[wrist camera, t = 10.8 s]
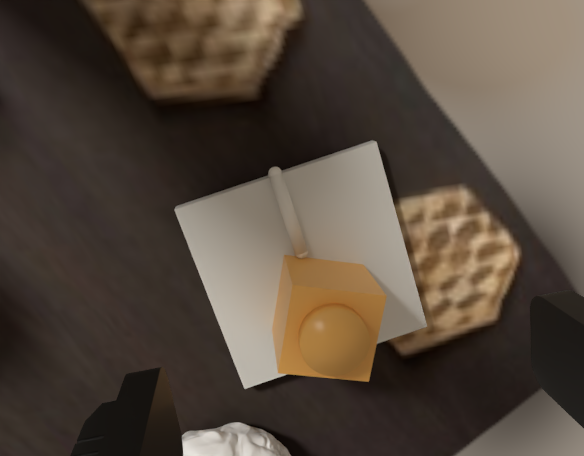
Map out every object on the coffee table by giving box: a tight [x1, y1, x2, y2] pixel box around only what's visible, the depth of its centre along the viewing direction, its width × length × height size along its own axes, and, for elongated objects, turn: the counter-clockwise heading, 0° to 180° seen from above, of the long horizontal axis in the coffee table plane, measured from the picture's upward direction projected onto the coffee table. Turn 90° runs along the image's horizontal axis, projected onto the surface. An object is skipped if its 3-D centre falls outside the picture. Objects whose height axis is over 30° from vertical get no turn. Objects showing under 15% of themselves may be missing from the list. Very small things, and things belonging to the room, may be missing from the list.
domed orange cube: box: [272, 255, 387, 382], centre depth 33 cm, size 6×6×7 cm
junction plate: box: [174, 140, 427, 389], centre depth 34 cm, size 15×14×6 cm
